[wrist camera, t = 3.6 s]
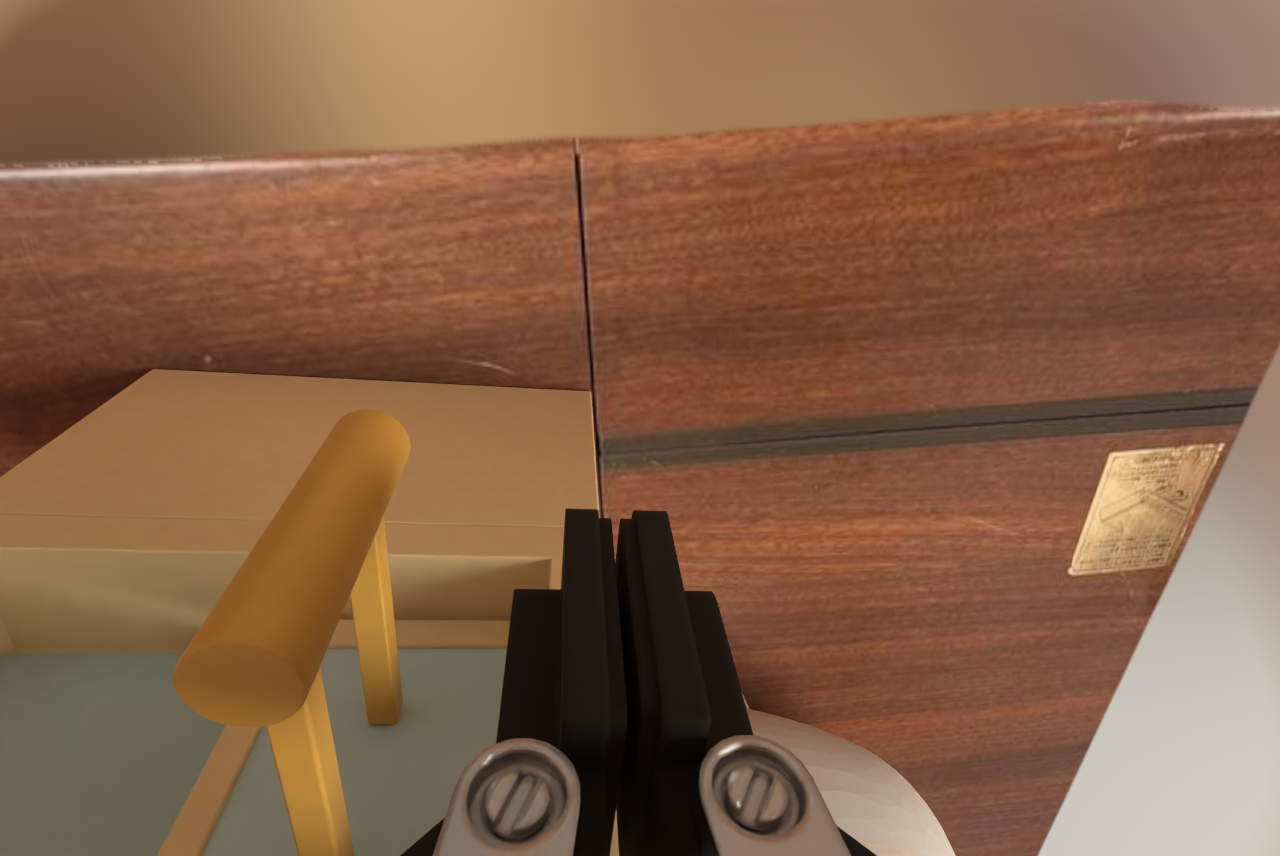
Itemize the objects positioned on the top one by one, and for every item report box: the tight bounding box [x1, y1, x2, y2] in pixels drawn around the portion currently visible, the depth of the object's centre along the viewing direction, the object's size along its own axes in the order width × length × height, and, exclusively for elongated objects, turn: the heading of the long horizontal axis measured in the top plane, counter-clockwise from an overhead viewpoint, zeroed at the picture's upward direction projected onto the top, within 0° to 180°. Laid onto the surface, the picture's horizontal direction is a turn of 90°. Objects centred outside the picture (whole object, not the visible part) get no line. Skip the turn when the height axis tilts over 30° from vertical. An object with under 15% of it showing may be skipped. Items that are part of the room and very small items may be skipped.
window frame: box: [0, 369, 619, 856], centre depth 19 cm, size 5×18×24 cm, turn 84°
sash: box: [157, 409, 510, 856], centre depth 13 cm, size 9×7×11 cm
